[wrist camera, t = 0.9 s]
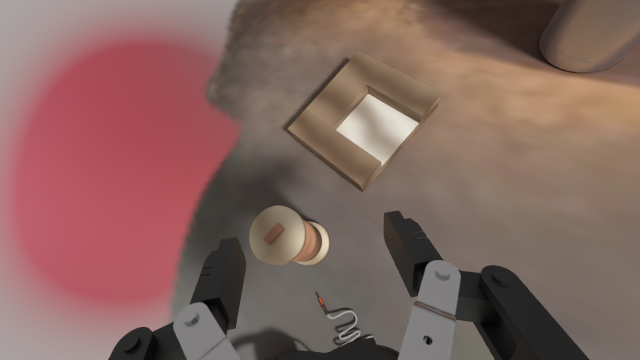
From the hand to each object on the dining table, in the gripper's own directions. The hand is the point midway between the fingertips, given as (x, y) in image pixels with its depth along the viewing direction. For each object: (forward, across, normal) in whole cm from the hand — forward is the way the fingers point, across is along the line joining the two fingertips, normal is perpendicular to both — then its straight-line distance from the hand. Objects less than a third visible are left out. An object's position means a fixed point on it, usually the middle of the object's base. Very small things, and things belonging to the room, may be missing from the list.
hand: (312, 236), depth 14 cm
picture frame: (+26, -9, +3) cm, 28 cm away
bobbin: (+15, +1, +15) cm, 21 cm away
